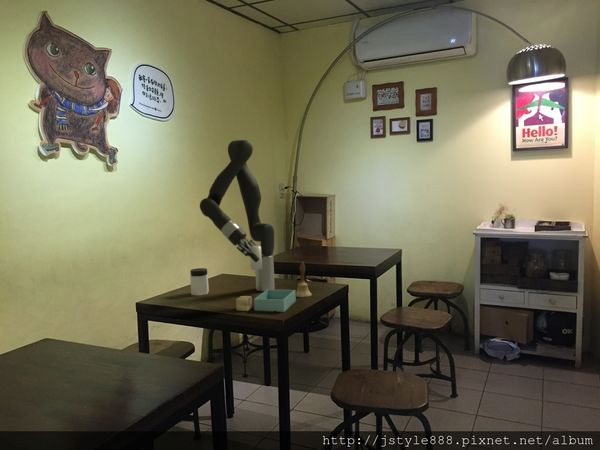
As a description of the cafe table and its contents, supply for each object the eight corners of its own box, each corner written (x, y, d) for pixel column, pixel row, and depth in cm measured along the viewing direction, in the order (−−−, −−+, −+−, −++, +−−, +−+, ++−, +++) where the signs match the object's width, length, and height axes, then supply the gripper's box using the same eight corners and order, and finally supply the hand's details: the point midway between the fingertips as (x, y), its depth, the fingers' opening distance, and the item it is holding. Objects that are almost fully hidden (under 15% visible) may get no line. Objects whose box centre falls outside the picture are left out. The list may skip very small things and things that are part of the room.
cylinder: (253, 267, 214) (252, 245, 213) (263, 267, 212) (262, 245, 211) (249, 269, 209) (247, 247, 208) (259, 269, 207) (258, 247, 206)
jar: (207, 295, 230) (205, 271, 229) (190, 296, 230) (188, 271, 229) (209, 291, 239) (208, 267, 238) (193, 291, 239) (192, 268, 238)
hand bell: (303, 292, 229) (301, 259, 228) (315, 294, 223) (314, 261, 222) (290, 295, 223) (289, 262, 222) (302, 298, 217) (301, 264, 216)
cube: (241, 307, 207) (240, 296, 206) (252, 307, 205) (251, 296, 205) (236, 310, 202) (236, 299, 201) (247, 311, 200) (246, 299, 200)
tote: (268, 300, 217) (267, 289, 216) (295, 301, 213) (295, 290, 212) (254, 310, 200) (253, 299, 200) (284, 311, 196) (283, 300, 196)
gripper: (231, 229, 204) (259, 256, 202) (245, 224, 217) (271, 250, 215) (221, 241, 206) (248, 268, 204) (235, 236, 220) (260, 262, 217)
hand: (260, 259), depth 210 cm, fingers closed on cylinder, 5 cm apart
